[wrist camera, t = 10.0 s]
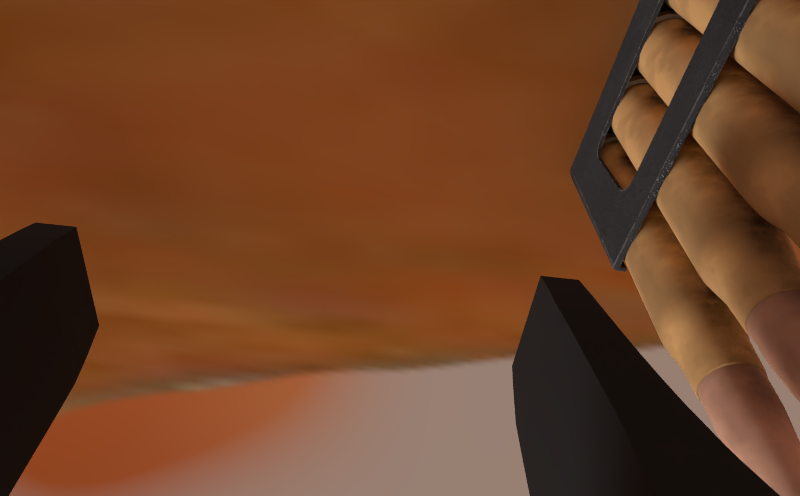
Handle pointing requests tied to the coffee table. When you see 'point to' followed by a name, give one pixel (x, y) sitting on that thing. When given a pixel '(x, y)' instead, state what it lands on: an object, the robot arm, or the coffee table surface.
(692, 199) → the ammunition clip
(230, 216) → the coffee table surface
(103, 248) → the coffee table surface
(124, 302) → the coffee table surface
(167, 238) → the coffee table surface
